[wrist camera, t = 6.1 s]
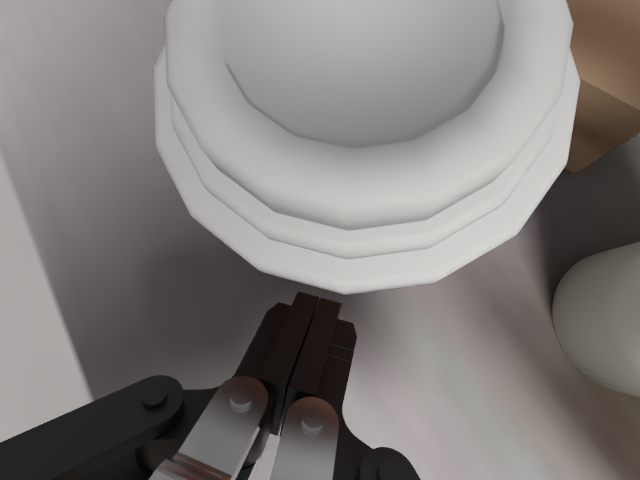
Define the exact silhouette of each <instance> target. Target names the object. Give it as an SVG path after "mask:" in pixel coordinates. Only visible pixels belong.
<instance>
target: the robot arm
mask: <svg viewBox="0 0 640 480" xmlns="http://www.w3.org/2000/svg"><path fill="white" fill-rule="evenodd" d="M318 303H319V304H318ZM341 305H342V303H338V302H335V301H331V300H327V299H324V298H320V301H319V297H316V296H313V295H309V294H306V293H302V292H298V293H297V295H296V297H295V299H294V301H293V304H292V306H290V305H287V304H283V303H280V302H279V303H277V304H276V305H275V306H273V307H272V308H271V309H270V310H268V311H267V313H266V315H265V317H264V319H263V321H262V323H261V326H260V327H259V328H258V330H257V332H256V335H255V336H254V338H253V340H252V342H251V344H250V346H249V348H248V350H247V352H246V354H245V356H244V357H243V359H242V361H241V363H240V365H239V367H238V369H237V371H236V373H235V374H234V376H233V377H232V378H231V379H229V380H227V381H225V382H224V383H223V384H222V385H221V386H219V387H216V388H212V389H205V390H183V388H182V386H181V384H180V383H179V382H178V381H177V380H176V379H174V378H172V377H169V376H164V375H158V376H152V377H148V378H146V379H143V380H141V381H139V382H137V383H134V384H132V385H130V386H128V387H125V388H123V389H121V390H119V391H116V392H114V393H112V394H109V395H107V396H105V397H103V398H100V399H98V400H96V401H94V402H91V403H89V404H87V405H85V406H82V407H80V408H78V409H75V410H73V411H71V412H69V413H66V414H64V415H62V416H60V417H57V418H55V419H53V420H51V421H48V422H46V423H44V424H42V425H39V426H37V427H35V428H32V429H30V430H28V431H26V432H23V433H21V434H19V435H17V436H14V437H12V438H10V439H8V440H5V441H3V442H1V443H0V480H251V479H252V476H253V474H254V472H255V470H256V467H257V465H258V463H259V460H260V458H261V455H262V452H263V450H264V447H265V445H266V442H267V439H268V436H269V434H270V433H271V434H274V435H277V436H278V433H279V430H280V427H281V432H280V437H281V438H280V442H279V446H278V450H277V454H276V458H275V461H274V465H273V469H272V473H271V477H270V480H421V479H420V478H419V476H418V474H417V473H416V471H415V469H414V468H413V466H412V465H411V463H410V462H409V460H408V459H407V458H406V457H405V456H404V455H402V454H401V453H400V452H398V451H396V450H394V449H391V448H387V447H379V448H375V449H372V448H370V447H369V446H368V445H366V444H365V443H363V442H362V441H361V440H359V439H358V438H357V437H355V436H354V435H353V434H352V433H351V431H350V430H349V429H348V427H347V425H346V424H345V421H344V418H343V414H342V405H343V400H344V395H345V391H346V386H347V381H348V377H349V372H350V367H351V362H352V358H353V353H354V348H355V344H356V339H357V335H356V332H355V328H354V325H353V323H350V322H347V321H343V320H339V319H338V317H339V313H340V309H341ZM281 424H282V426H281Z"/></svg>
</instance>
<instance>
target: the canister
mask: <svg viewBox="0 0 640 480" xmlns="http://www.w3.org/2000/svg"><path fill="white" fill-rule="evenodd" d="M552 317H553V325H554V329H555V333H556V336H557V339H558V341H559V343H560V345H561V347H562V349H563V351H564V352H565V354H566V356H567V357H568V358H569V360H570V361H571V362H572V363H573V365H574V366H575V367H576V368H577V369H578V370H579V371H580V372H582V373H583V374H584V375H585V376H587V377H588V378H589V379H591V380H592V381H594V382H596V383H597V384H599V385H601V386H603V387H605V388H608V389H610V390H613V391H616V392H620V393H624V394H628V395H631V396H635V397H639V398H640V242H637V243H633V244H629V245H626V246H622V247H618V248H615V249H611V250H607V251H604V252H600V253H597V254H593V255H591V256H588V257H586V258H584V259H582V260H580V261H579V262H577V263H576V264H575V265H573V266H572V267H571V268H570V269H569V270H568V271H567V272H566V273H565V275H564V276H563V277H562V279H561V281H560V282H559V284H558V286H557V289H556V292H555V294H554V299H553V306H552Z"/></svg>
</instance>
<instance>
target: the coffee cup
mask: <svg viewBox="0 0 640 480" xmlns="http://www.w3.org/2000/svg"><path fill="white" fill-rule="evenodd" d="M164 28H165V43H164V45H163V48H162V50H161V53H160V55H159V58H158V60H157V63H156V65H155V68H154V70H153V76H154V106H155V136H156V148H157V150H158V152H159V154H160V156H161V158H162V160H163V162H164V164H165V166H166V168H167V170H168V172H169V174H170V176H171V178H172V180H173V182H174V184H175V186H176V188H177V190H178V191H179V193H180V195H181V197H182V199H183V201H184V203H185V205H186V207H187V209H188V211H189V213H190V215H191V217H192V218H194V219H195V220H196V221H197V222H199V223H200V224H201V225H202V226H204V227H205V228H206V229H207V230H209V231H210V232H211V233H212V234H214V235H215V236H216V237H217V238H219V239H220V240H221V241H222V242H224V243H225V244H226V245H228V246H229V247H230V248H231V249H233V250H234V251H235V252H236V253H238V254H239V255H240V256H241V257H243V258H244V259H245V260H246V261H248V262H249V263H250V264H251V265H253V266H254V267H255V268H256V269H258V270H259V271H261V272H263V273H265V274H269V275H273V276H276V277H280V278H284V279H287V280H291V281H295V282H298V283H302V284H306V285H310V286H313V287H317V288H321V289H324V290H328V291H332V292H335V293H339V294H343V295H350V294H357V293H365V292H373V291H381V290H388V289H396V288H404V287H412V286H419V285H427V284H432V283H434V282H436V281H439V280H440V279H442V278H444V277H445V276H447V275H449V274H451V273H452V272H454V271H456V270H457V269H459V268H461V267H462V266H464V265H466V264H468V263H469V262H471V261H473V260H474V259H476V258H478V257H480V256H481V255H483V254H485V253H486V252H488V251H490V250H492V249H493V248H495V247H497V246H498V245H500V244H502V243H503V242H505V241H507V240H509V239H510V238H512V237H514V236H515V235H517V234H518V233H519V231H520V230H521V228H522V227H523V225H524V224H525V223H526V221H527V220H528V218H529V217H530V216H531V214H532V213H533V211H534V210H535V208H536V207H537V206H538V204H539V203H540V201H541V200H542V199H543V197H544V196H545V194H546V193H547V191H548V190H549V189H550V187H551V186H552V184H553V183H554V182H555V180H556V179H557V177H558V176H559V174H560V173H561V172H562V170H563V169H564V167H565V166H566V165H567V161H568V155H569V148H570V142H571V136H572V130H573V124H574V117H575V111H576V105H577V99H578V93H579V87H580V79H579V75H578V72H577V69H576V66H575V62H574V59H573V56H572V53H571V49H570V42H571V36H572V30H573V21H572V17H571V14H570V11H569V8H568V5H567V1H566V0H171V3H170V5H169V7H168V10H167V12H166V15H165V17H164Z"/></svg>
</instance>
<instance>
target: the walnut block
mask: <svg viewBox="0 0 640 480" xmlns="http://www.w3.org/2000/svg"><path fill="white" fill-rule="evenodd" d="M566 1H567V5H568V8H569V11H570V14H571V17H572V21H573V30H572V36H571V42H570V49H571V53H572V56H573V59H574V62H575V66H576V69H577V72H578V75H579V79H580V87H579V93H578V99H577V105H576V111H575V117H574V124H573V130H572V136H571V142H570V148H569V155H568V161H567V165H566V166H565V167H564V168H565V169H567V170H568V171H570V172H572V173H573V174H576V173H577V172H579V171H580V170H582V169H583V168H585V167H587V166H588V165H590V164H591V163H593V162H594V161H596V160H597V159H599V158H601V157H602V156H604V155H605V154H607V153H608V152H610V151H611V150H613V149H615V148H616V147H618V146H619V145H621V144H622V143H624V142H625V141H627V140H629V139H630V138H632V137H633V136H635V135H636V134H638V133H639V132H640V0H566Z"/></svg>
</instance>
